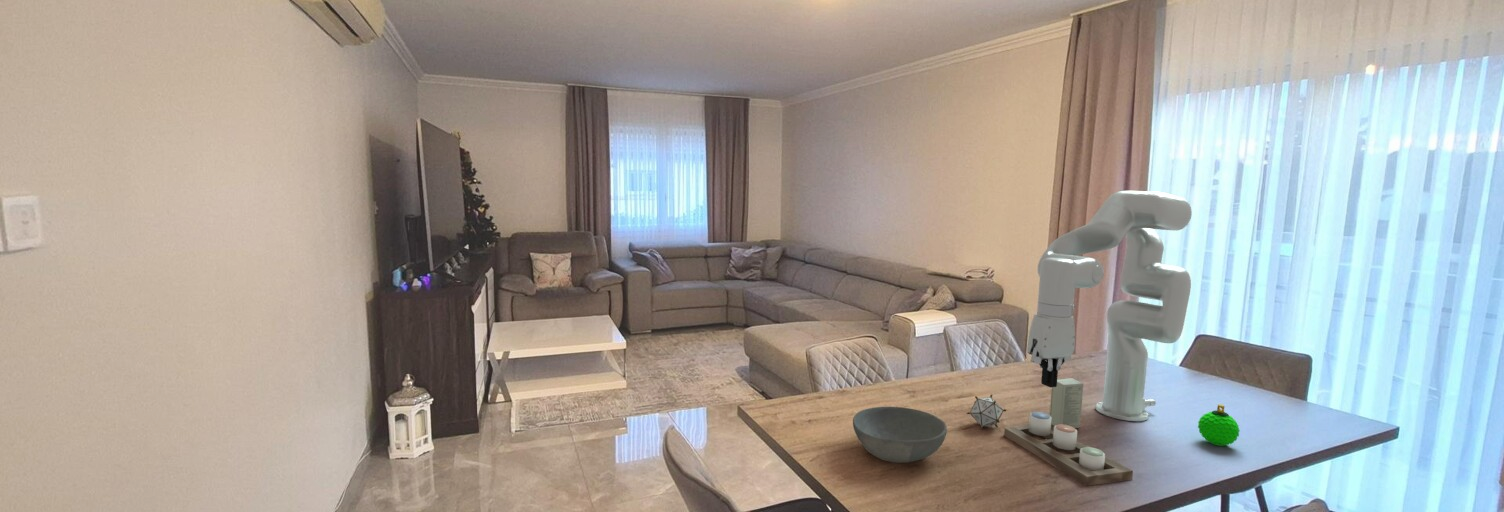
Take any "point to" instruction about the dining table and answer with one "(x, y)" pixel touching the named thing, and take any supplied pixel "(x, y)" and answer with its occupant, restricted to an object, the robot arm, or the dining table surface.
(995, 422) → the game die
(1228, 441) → the ornament
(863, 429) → the bowl
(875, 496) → the dining table surface
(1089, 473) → the rack with square compartments
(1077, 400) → the skincare box
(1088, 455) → the white round cylinder
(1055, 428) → the small jar
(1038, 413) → the small jar
